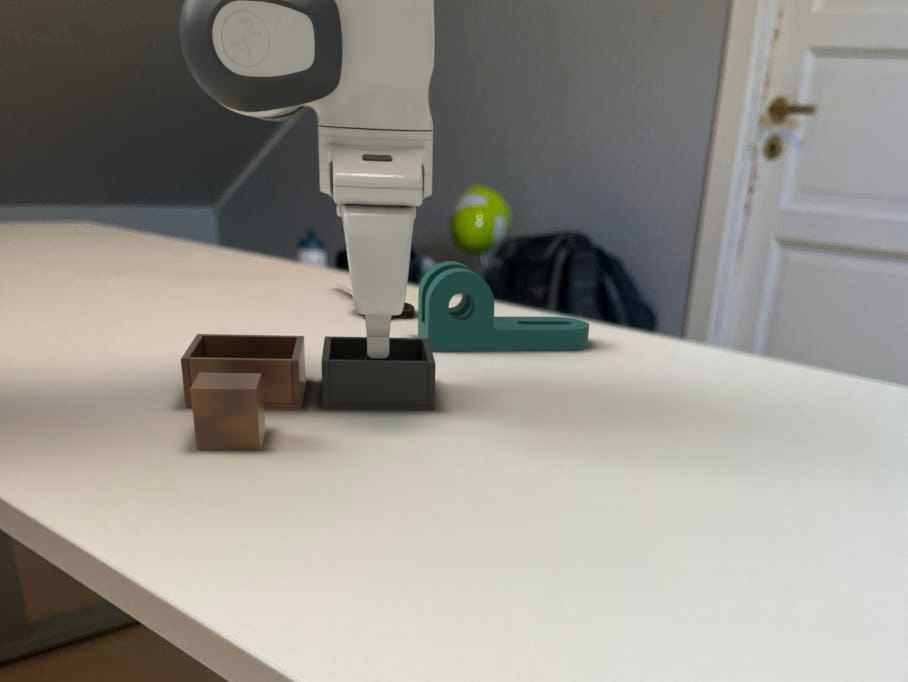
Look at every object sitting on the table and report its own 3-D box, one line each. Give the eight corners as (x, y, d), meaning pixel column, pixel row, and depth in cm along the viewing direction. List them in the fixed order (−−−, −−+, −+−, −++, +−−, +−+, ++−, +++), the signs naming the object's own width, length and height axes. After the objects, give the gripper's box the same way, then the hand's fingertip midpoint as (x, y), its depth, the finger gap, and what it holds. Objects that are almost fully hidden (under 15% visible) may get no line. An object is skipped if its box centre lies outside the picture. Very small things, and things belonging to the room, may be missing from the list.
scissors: (309, 289, 127) (371, 320, 112) (309, 282, 126) (371, 312, 111) (357, 287, 130) (423, 317, 115) (357, 280, 129) (424, 309, 114)
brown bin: (185, 408, 79) (180, 358, 77) (201, 379, 87) (197, 333, 85) (300, 409, 80) (298, 360, 78) (306, 381, 88) (304, 335, 86)
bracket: (427, 352, 100) (429, 271, 96) (417, 337, 105) (418, 260, 101) (595, 351, 103) (603, 273, 99) (576, 337, 109) (583, 262, 105)
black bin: (323, 410, 80) (321, 360, 78) (326, 381, 88) (324, 336, 86) (434, 411, 81) (435, 362, 79) (427, 382, 89) (428, 338, 87)
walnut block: (196, 451, 70) (190, 388, 68) (205, 432, 74) (199, 372, 71) (260, 451, 70) (256, 389, 68) (265, 432, 74) (261, 373, 72)
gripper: (337, 160, 85) (341, 324, 91) (332, 178, 67) (338, 380, 74) (410, 163, 85) (409, 325, 92) (424, 181, 68) (421, 381, 74)
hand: (377, 350), depth 83 cm, fingers open, 3 cm apart
